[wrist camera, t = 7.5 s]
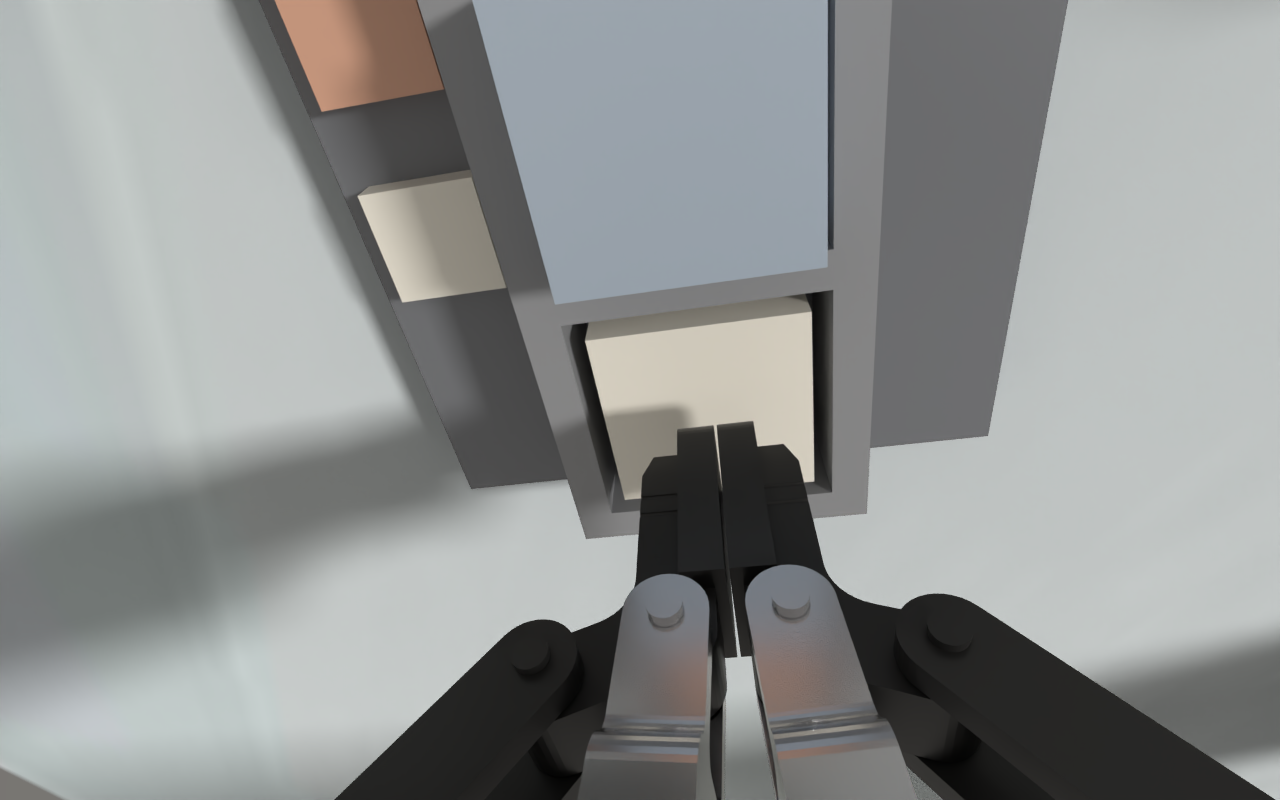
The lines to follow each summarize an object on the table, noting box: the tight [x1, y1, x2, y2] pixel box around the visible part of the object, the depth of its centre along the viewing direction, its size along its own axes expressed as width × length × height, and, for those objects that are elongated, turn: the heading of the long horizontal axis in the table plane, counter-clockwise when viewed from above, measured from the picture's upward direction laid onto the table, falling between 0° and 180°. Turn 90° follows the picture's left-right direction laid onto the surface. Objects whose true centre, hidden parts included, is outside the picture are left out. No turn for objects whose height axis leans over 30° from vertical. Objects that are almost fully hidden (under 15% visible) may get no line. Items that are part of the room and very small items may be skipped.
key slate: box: [472, 0, 828, 305], centre depth 10 cm, size 4×4×2 cm
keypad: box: [259, 0, 1068, 539], centre depth 12 cm, size 14×19×4 cm
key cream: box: [585, 294, 814, 500], centre depth 15 cm, size 4×4×2 cm
